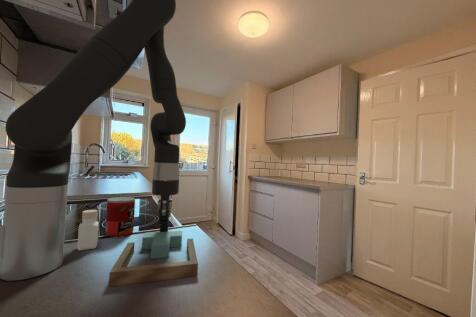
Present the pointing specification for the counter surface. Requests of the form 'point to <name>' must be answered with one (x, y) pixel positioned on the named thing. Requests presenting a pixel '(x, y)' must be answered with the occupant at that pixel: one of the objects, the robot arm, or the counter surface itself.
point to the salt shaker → (88, 230)
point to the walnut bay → (152, 268)
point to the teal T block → (161, 242)
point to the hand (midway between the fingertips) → (163, 236)
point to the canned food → (120, 216)
